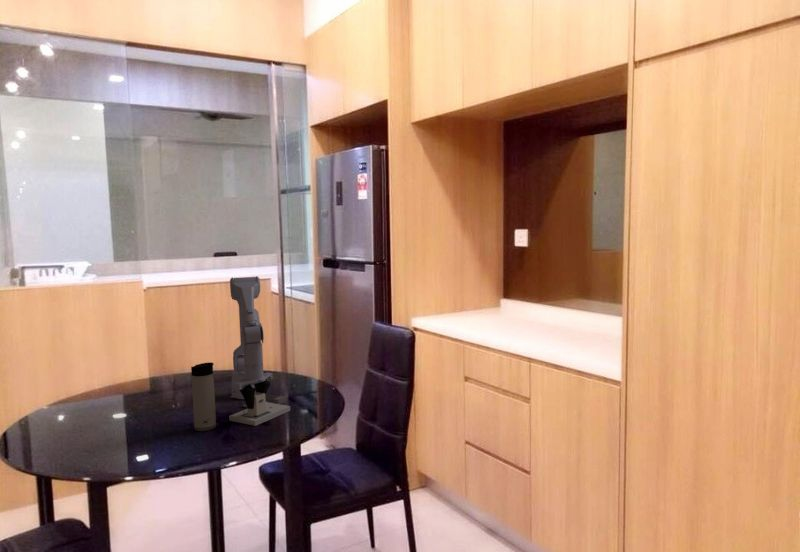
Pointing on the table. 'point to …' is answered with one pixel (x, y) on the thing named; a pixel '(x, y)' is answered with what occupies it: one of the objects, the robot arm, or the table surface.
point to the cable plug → (279, 400)
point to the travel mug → (203, 397)
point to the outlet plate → (270, 413)
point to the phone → (268, 399)
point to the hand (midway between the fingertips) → (255, 406)
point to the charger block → (258, 404)
